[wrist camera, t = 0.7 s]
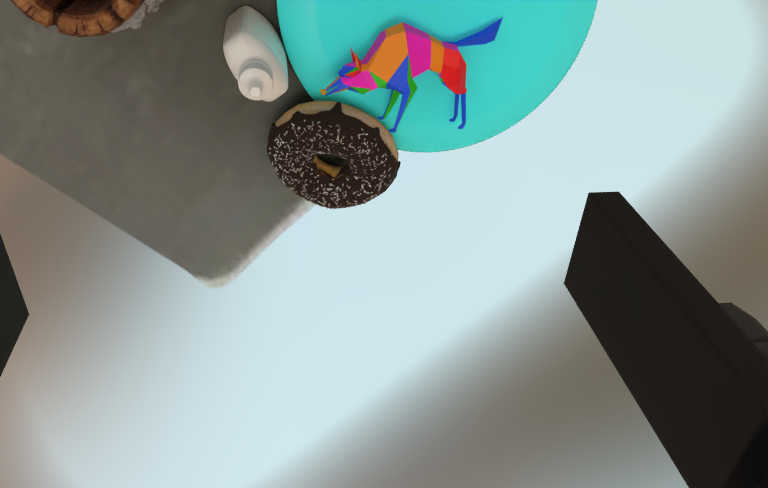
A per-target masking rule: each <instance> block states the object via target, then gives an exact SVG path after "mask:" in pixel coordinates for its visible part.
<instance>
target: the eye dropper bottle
mask: <svg viewBox="0 0 768 488" xmlns="http://www.w3.org/2000/svg"><path fill="white" fill-rule="evenodd" d="M223 51H224V55H225V58H226V61H227V63H228V66H229V68H230V70H231V72H232V73H233V75H234V77H235V78H236V79H237V81H238V86H239V90H240V91H241V93H242V94H243V95H244V96H245V97H246V98H248V99H251V100H264V101H267V102H270V101H273V100H275V99H276V98H278V97H279V96H281V95H282V94H283V93H285V92H286V90H287V88H288V70H287V57H286V52H285V48H284V46H283V43H282V41H281V38H280V36H279V35H278V33H277V31H276V30H275V28H274V27H273V26H272V24H271V23H270V22H269V21H268V20H267V19H266V18H265V17H264V16H263V15H261V14H260V13H259V12H258V11H256V10H255V9H253V8H251V7H249V6H243V7H241V8H239V9H238V10H236V11H235V12H234V13H232V14H231V15H230V16H229V17H228V18H227V22H226V28H225V34H224V40H223Z"/></svg>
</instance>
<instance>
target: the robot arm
mask: <svg viewBox="0 0 768 488" xmlns="http://www.w3.org/2000/svg"><path fill="white" fill-rule="evenodd" d="M564 284H565V286H566V288H567V289H568V291H569V292H570V294H571V296H572V297H573V299H574V301H575V302H576V304H577V306H578V307H579V309H580V310H581V312H582V314H583V315H584V317H585V318H586V320H587V322H588V323H589V325H590V327H591V328H592V330H593V332H594V333H595V335H596V336H597V338H598V340H599V341H600V343H601V345H602V346H603V348H604V350H605V351H606V353H607V355H608V356H609V358H610V359H611V361H612V363H613V364H614V366H615V368H616V369H617V371H618V373H619V374H620V376H621V377H622V379H623V381H624V382H625V384H626V386H627V387H628V389H629V390H630V392H631V394H632V395H633V397H634V399H635V400H636V402H637V404H638V405H639V407H640V408H641V410H642V412H643V413H644V415H645V417H646V418H647V420H648V422H649V423H650V425H651V426H652V428H653V430H654V431H655V433H656V434H657V436H658V438H659V439H660V441H661V443H662V444H663V446H664V448H665V449H666V451H667V453H668V454H669V456H670V457H671V459H672V461H673V462H674V464H675V466H676V467H677V469H678V471H679V472H680V474H681V475H682V477H683V479H684V480H685V482H686V484H687V485H688V486H689V488H768V331H766V329H765V328H764V327H763V326H762V325H761V324H760V323H759V322H758V321H757V320H756V319H755V318H753V317H752V316H751V315H749V314H748V313H746V312H745V311H743V310H741V309H740V308H738V307H737V306H735V305H733V304H732V303H720V304H719V303H718V302H717V301H716V300H715V299H714V298H713V297H712V296H711V295H710V293H709V292H708V291H707V290H706V289H705V288H704V287H703V286H702V284H700V282H699V281H698V280H697V279H696V278H695V277H694V276H693V274H692V273H691V272H690V271H689V270H688V269H687V268H686V267H685V266H684V264H683V263H682V262H681V261H680V260H679V259H678V258H677V256H676V255H675V254H674V253H673V252H672V251H671V250H670V249H669V248H668V247H667V245H666V244H665V243H664V242H663V241H662V240H661V239H660V237H659V236H658V235H657V234H656V233H655V232H654V231H653V230H652V229H651V228H650V226H649V225H648V224H647V223H646V222H645V221H644V220H643V219H642V217H641V216H640V215H639V214H638V213H637V212H636V211H635V209H634V208H633V207H632V206H631V205H630V204H629V203H628V202H627V201H626V199H625V198H624V197H623V196H622V195H621V194H620V193H619V192H596V193H589V194H588V197H587V201H586V204H585V208H584V212H583V215H582V219H581V223H580V226H579V230H578V234H577V238H576V241H575V245H574V248H573V252H572V256H571V259H570V263H569V267H568V270H567V275H566V278H565V281H564ZM28 315H29V313H28V310H27V307H26V304H25V302H24V299H23V296H22V293H21V290H20V288H19V285H18V282H17V280H16V276H15V274H14V271H13V268H12V266H11V263H10V260H9V257H8V254H7V251H6V249H5V246H4V243H3V240H2V237H1V235H0V376H1V374H2V372H3V370H4V368H5V365H6V363H7V361H8V359H9V357H10V355H11V352H12V350H13V348H14V346H15V344H16V341H17V339H18V337H19V335H20V333H21V331H22V328H23V326H24V324H25V322H26V320H27V317H28Z"/></svg>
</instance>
